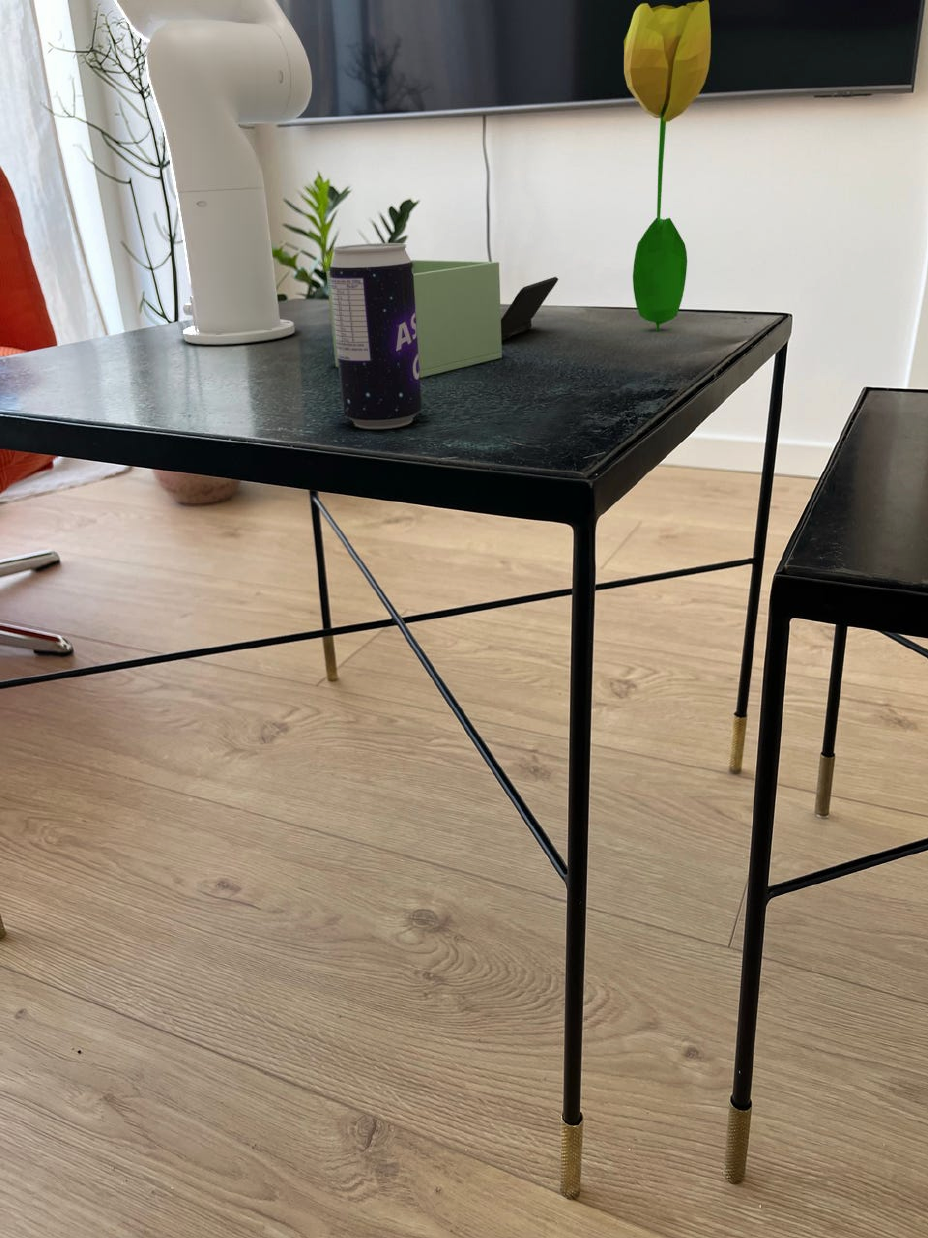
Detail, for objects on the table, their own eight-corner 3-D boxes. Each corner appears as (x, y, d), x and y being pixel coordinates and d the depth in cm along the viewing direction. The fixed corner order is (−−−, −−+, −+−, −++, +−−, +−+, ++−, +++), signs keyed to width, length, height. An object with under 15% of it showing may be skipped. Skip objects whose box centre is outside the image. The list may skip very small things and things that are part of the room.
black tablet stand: (463, 311, 111) (512, 237, 106) (514, 350, 112) (566, 278, 107) (437, 343, 102) (489, 263, 96) (492, 384, 103) (548, 308, 97)
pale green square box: (335, 367, 93) (326, 271, 89) (418, 348, 100) (412, 259, 97) (419, 378, 86) (413, 274, 82) (502, 357, 93) (499, 261, 90)
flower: (617, 325, 108) (622, 9, 96) (691, 323, 107) (706, 3, 95) (620, 337, 101) (626, -5, 88) (700, 335, 100) (718, -12, 87)
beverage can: (411, 432, 68) (399, 247, 63) (333, 431, 69) (315, 250, 64) (430, 413, 73) (420, 241, 68) (357, 413, 74) (342, 243, 69)
